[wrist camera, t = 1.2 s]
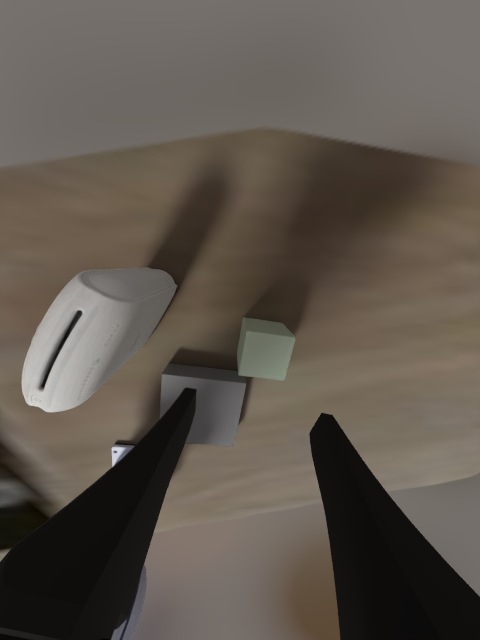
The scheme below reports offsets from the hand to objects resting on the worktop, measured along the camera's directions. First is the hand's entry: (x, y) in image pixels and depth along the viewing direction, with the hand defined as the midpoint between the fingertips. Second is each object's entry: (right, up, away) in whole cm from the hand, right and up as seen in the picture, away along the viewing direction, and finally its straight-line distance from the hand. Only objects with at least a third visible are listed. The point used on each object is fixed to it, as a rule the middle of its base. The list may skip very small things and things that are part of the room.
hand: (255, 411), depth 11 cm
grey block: (-6, -6, +16) cm, 18 cm away
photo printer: (-12, +7, +11) cm, 18 cm away
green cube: (+2, +3, +13) cm, 14 cm away
